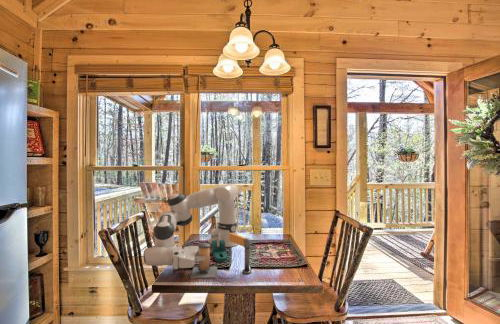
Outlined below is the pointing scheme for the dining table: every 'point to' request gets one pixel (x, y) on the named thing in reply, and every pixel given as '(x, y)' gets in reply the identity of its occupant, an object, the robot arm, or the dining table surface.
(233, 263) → the dining table surface
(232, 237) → the orange wooden bar
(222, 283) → the dining table surface
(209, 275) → the pad
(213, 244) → the bracket
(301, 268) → the dining table surface
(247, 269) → the post
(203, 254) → the cylinder
